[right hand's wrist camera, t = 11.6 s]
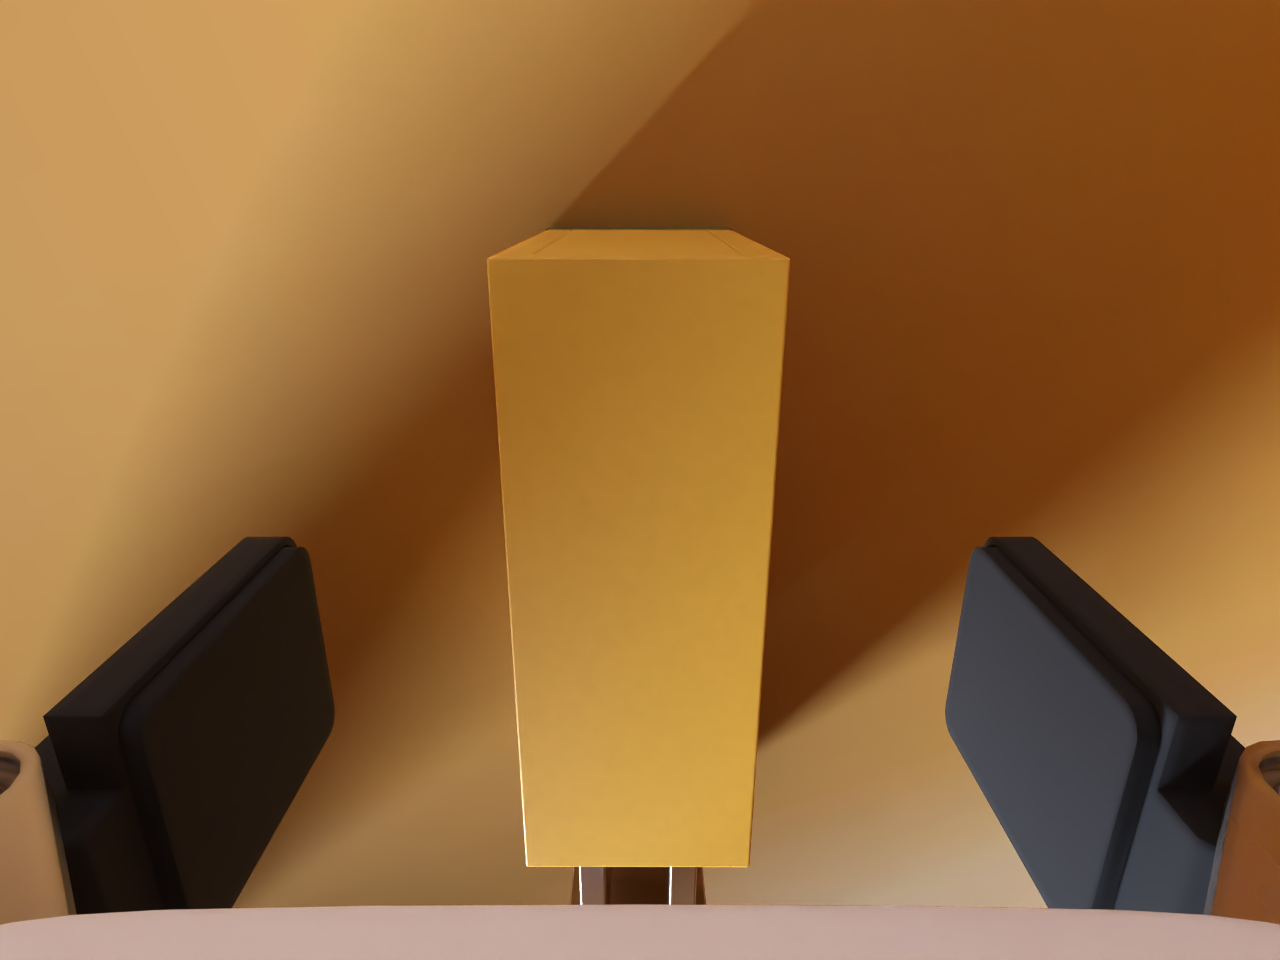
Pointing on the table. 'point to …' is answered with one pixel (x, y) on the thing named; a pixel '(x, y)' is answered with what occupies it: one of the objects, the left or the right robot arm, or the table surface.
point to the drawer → (638, 886)
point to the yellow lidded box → (638, 534)
